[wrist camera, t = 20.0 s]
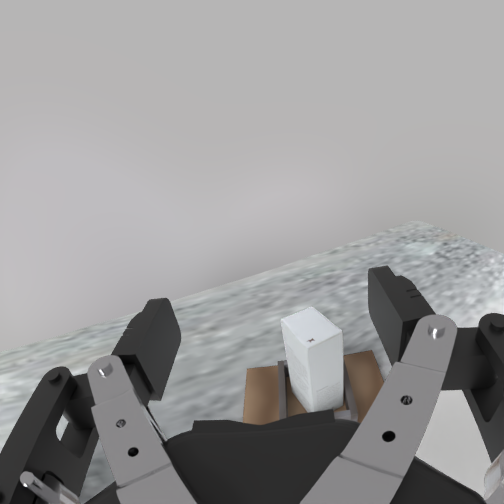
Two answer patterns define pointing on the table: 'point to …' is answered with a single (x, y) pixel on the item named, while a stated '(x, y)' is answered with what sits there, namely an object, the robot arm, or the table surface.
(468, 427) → the table surface
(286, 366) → the holder
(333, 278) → the table surface
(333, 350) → the skincare box
